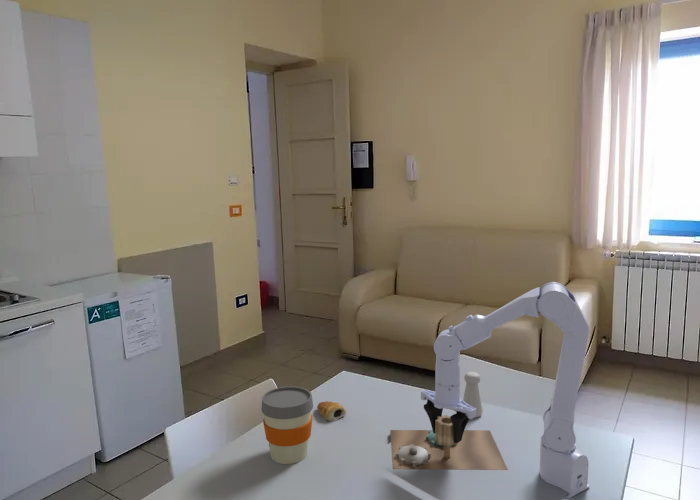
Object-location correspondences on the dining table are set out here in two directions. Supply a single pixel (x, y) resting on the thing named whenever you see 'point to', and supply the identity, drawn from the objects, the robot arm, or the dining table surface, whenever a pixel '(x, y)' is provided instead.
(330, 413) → the pastry
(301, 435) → the reusable coffee cup
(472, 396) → the salt shaker
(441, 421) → the wooden gear
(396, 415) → the dining table surface
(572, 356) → the robot arm
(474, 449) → the gear board
